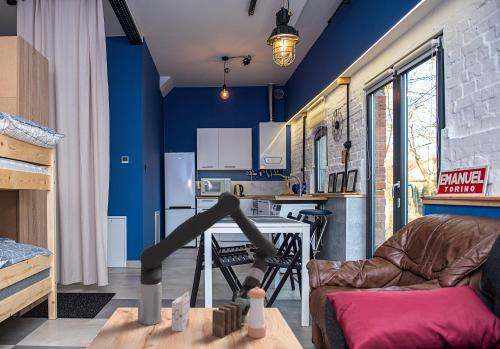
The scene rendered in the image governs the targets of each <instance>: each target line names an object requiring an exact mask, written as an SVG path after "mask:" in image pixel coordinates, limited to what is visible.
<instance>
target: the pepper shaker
mask: <svg viewBox="0 0 500 349" xmlns="http://www.w3.org/2000/svg"><path fill="white" fill-rule="evenodd" d="M248 295H249V297H250V309H249V312H248V313H249V314H248V325H247V336H248V337H250V338H251V339H252V338H253V339H261V338H264V337H266V330H267V328H266V324H265V323H266V316H265V315H266V314H265V308H264V306H265V305H264V300H265V299H264V298H265V297H266V292H265V290H264V289H263V288H260V287H255V288H253V289H251V290H250V291H249V293H248Z"/></svg>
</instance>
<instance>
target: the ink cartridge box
mask: <svg viewBox="0 0 500 349" xmlns="http://www.w3.org/2000/svg"><path fill="white" fill-rule="evenodd" d="M190 301H191V300H190V291H189V290H188V291H186V292H185V293H184V294H182V295H181V296H179V297H177V298H176V299H175V300H173V301H172V302H171V331H173V332H183V331H185V329H186V328H188V326H189V325H190Z"/></svg>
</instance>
